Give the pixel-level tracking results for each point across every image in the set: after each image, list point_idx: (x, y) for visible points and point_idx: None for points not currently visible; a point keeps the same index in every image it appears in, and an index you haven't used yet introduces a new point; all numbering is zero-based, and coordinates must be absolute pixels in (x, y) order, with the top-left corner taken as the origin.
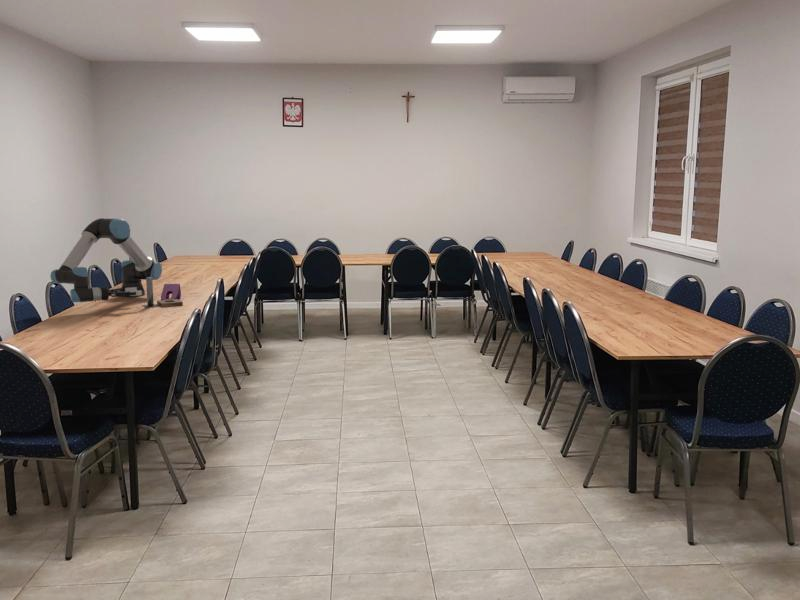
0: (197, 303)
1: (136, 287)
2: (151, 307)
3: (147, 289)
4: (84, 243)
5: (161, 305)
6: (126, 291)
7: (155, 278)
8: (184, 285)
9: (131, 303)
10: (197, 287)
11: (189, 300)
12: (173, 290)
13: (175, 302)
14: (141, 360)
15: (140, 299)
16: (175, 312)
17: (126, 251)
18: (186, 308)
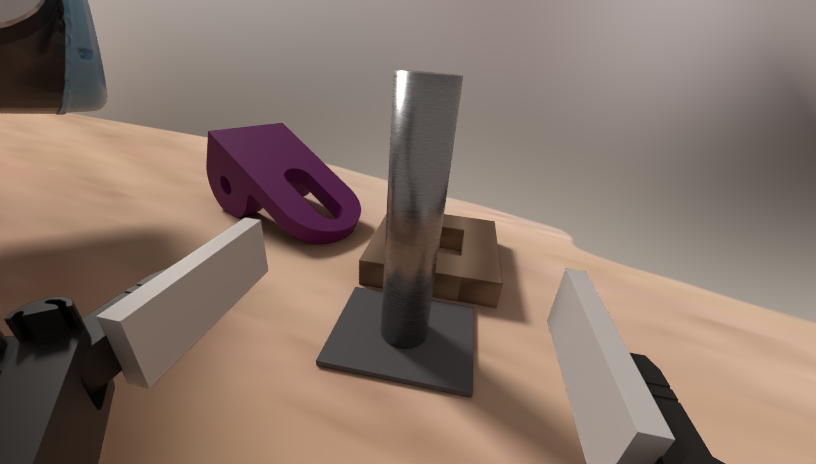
0: (452, 202)
1: (258, 222)
2: (472, 350)
3: (427, 214)
4: None
5: (482, 293)
6: (159, 356)
7: (103, 100)
8: (84, 128)
9: None
10: (163, 131)
11: (362, 193)
12: (300, 162)
13: (495, 238)
14: None
15: (66, 265)
16: (713, 323)
17: None
18: (569, 253)
